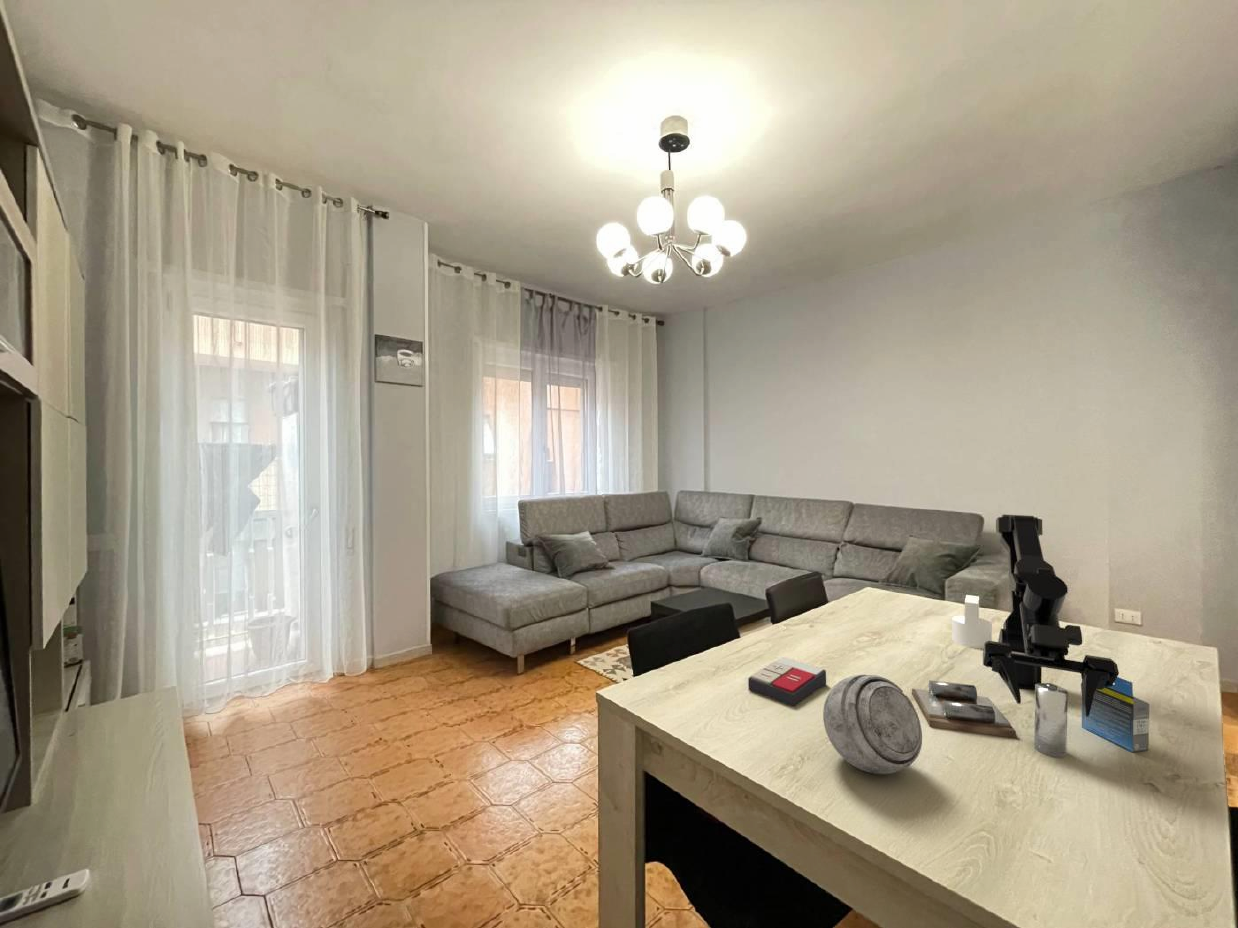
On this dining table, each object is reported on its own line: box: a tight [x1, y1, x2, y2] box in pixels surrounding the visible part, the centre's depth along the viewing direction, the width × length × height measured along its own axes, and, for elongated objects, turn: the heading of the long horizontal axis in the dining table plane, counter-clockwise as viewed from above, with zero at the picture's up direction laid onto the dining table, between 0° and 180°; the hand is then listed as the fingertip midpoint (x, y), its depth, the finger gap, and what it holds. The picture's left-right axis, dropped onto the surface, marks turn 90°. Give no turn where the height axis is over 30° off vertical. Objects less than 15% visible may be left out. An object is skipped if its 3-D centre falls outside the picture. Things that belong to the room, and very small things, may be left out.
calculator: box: [747, 656, 827, 707], centre depth 117 cm, size 11×4×15 cm
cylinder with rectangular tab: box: [951, 594, 993, 650], centre depth 144 cm, size 9×9×12 cm
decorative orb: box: [822, 674, 923, 775], centre depth 88 cm, size 15×14×15 cm
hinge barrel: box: [1033, 682, 1069, 759], centre depth 92 cm, size 4×4×12 cm
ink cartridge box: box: [1081, 676, 1150, 753], centre depth 96 cm, size 9×4×12 cm, turn 9°
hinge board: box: [911, 688, 1017, 739], centre depth 105 cm, size 14×14×1 cm
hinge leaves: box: [914, 680, 1012, 727], centre depth 105 cm, size 13×12×3 cm
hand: (1052, 709), depth 91 cm, fingers open, 9 cm apart
